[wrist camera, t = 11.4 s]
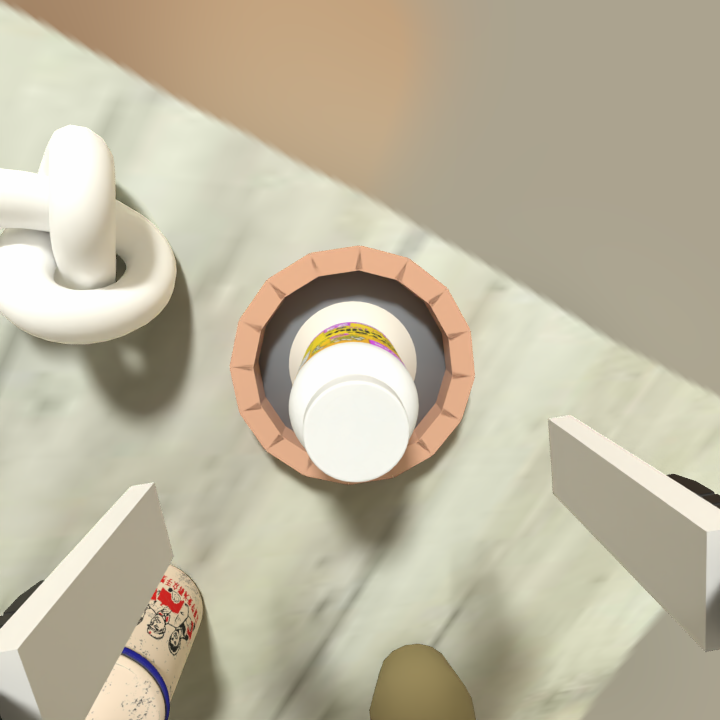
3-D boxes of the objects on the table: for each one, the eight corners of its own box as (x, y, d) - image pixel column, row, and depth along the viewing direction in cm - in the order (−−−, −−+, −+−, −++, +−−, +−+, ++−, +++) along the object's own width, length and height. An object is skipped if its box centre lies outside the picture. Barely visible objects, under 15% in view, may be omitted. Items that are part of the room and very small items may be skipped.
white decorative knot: (234, 256, 31) (194, 254, 23) (114, 371, 33) (31, 411, 24) (107, 121, 29) (8, 61, 21) (-16, 249, 31) (-158, 245, 22)
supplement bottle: (411, 337, 32) (457, 388, 20) (378, 422, 33) (403, 522, 21) (319, 306, 31) (307, 337, 19) (290, 394, 33) (260, 479, 20)
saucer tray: (264, 480, 35) (257, 499, 32) (219, 267, 31) (208, 268, 29) (472, 448, 35) (483, 463, 32) (450, 232, 32) (460, 230, 29)
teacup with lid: (229, 592, 37) (180, 741, 25) (167, 670, 38) (94, 845, 27) (96, 513, 35) (-22, 635, 23) (36, 598, 36) (-104, 753, 25)
